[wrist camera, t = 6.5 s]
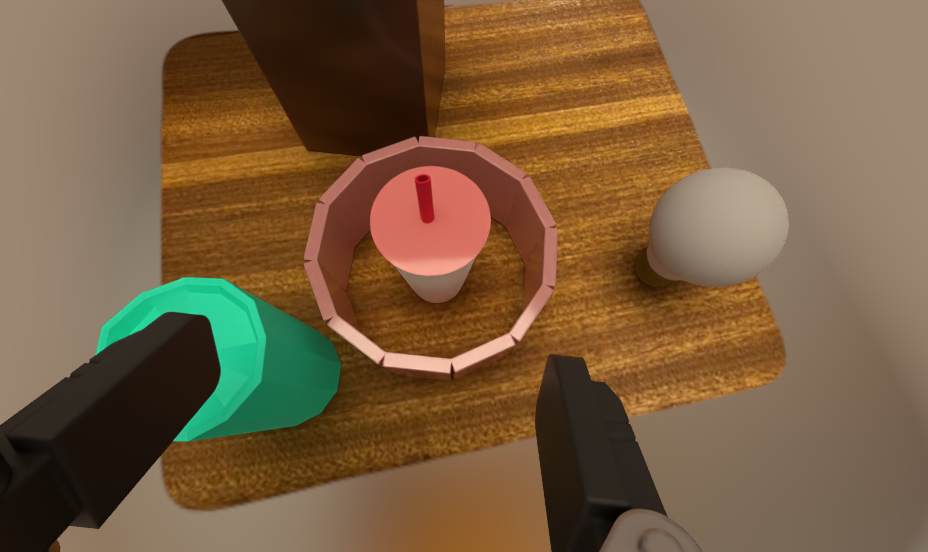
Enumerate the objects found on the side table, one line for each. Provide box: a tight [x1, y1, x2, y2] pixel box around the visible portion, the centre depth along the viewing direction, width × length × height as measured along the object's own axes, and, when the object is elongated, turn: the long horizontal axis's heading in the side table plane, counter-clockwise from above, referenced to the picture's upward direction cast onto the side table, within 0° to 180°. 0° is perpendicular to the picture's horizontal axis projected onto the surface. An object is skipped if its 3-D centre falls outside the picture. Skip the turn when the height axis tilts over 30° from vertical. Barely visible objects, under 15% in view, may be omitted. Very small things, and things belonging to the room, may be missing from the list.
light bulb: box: [635, 168, 789, 287], centre depth 22 cm, size 6×6×10 cm
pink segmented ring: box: [304, 136, 558, 381], centre depth 24 cm, size 13×13×6 cm
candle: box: [96, 277, 341, 442], centre depth 19 cm, size 6×6×12 cm
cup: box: [370, 166, 491, 303], centre depth 21 cm, size 5×5×12 cm
